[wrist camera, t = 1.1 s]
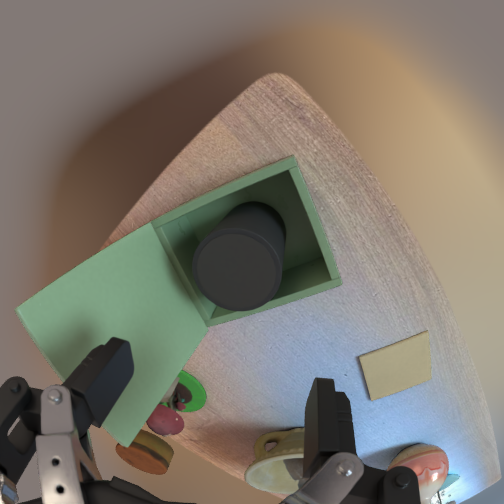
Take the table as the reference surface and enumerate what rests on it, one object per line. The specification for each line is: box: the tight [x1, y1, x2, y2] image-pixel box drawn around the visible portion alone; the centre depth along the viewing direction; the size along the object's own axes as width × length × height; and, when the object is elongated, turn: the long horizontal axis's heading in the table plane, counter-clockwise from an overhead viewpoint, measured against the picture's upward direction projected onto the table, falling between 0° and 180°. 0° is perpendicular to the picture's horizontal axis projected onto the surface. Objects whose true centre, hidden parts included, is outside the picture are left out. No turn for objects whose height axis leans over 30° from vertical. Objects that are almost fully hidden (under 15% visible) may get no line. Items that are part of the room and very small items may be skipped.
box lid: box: [15, 222, 208, 447], centre depth 20 cm, size 14×12×1 cm
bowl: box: [244, 428, 309, 494], centre depth 38 cm, size 18×18×10 cm
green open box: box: [151, 155, 342, 327], centre depth 28 cm, size 14×12×7 cm
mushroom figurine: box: [116, 370, 206, 475], centre depth 35 cm, size 12×13×15 cm
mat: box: [359, 330, 431, 401], centre depth 35 cm, size 10×10×1 cm
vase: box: [386, 443, 449, 504], centre depth 34 cm, size 14×14×18 cm
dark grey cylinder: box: [192, 201, 286, 311], centre depth 26 cm, size 7×7×10 cm
